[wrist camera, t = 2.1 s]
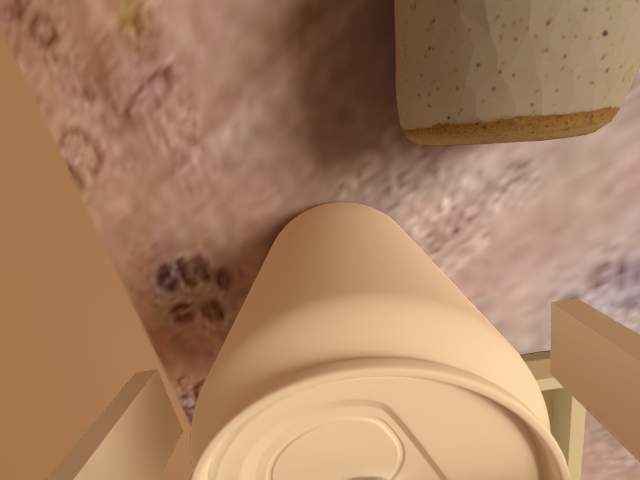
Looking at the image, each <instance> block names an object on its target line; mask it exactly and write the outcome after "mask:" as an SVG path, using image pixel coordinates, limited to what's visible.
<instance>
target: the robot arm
mask: <svg viewBox="0 0 640 480" xmlns="http://www.w3.org/2000/svg"><path fill="white" fill-rule="evenodd" d="M550 374H551V375H552V376H553V377H554V378H555V379H556V380H557V381H558V382H559V383H560V384H561V385H562V386H563V387H564V388H565V389H566V390H567V391H568V392H569V393H570V394H571V395H572V396H573V397H574V398H575V399H576V400H577V401H578V402H579V403H580V404H581V405H582V406H583V407H584V408H585V409H586V410H587V411H588V412H589V413H590V414H591V415H592V416H593V417H594V418H595V419H596V420H597V421H598V422H599V423H601V424H602V425H603V426H604V427H605V428H606V429H607V430H608V431H609V432H610V433H611V434H612V435H613V436H614V437H615V438H616V439H617V440H618V441H619V442H620V443H621V444H622V445H623V446H624V447H625V448H626V449H627V450H628V451H629V452H630V453H631V454H632V455H633V456H634V457H635V458H636V459H637V460H638V461H639V462H640V335H639V334H637V333H635V332H634V331H632V330H630V329H628V328H627V327H625V326H623V325H622V324H620V323H618V322H616V321H615V320H613V319H611V318H610V317H608V316H606V315H604V314H603V313H601V312H599V311H598V310H596V309H594V308H592V307H591V306H589V305H587V304H585V303H584V302H582V301H580V300H579V299H577V298H575V299H569V300H563V301H557V302H551V360H550ZM182 432H183V430H182V428H181V426H180V423H179V421H178V418H177V416H176V413H175V411H174V409H173V406H172V404H171V402H170V399H169V397H168V394H167V392H166V390H165V387H164V385H163V382H162V380H161V378H160V375H159V373H158V371H157V370H150V371H144V372H139V373H135V375H134V376H133V377H132V378H131V379H130V381H129V382H128V383H127V384H126V385H125V387H124V388H123V389H122V390H121V391H120V392H119V394H118V395H117V396H116V397H115V398H114V400H113V401H112V402H111V403H110V404H109V406H108V407H107V408H106V409H105V411H104V412H103V413H102V414H101V415H100V416H99V418H98V419H97V420H96V421H95V422H94V423H93V425H92V426H91V427H90V428H89V429H88V431H87V432H86V433H85V434H84V435H83V437H82V438H81V439H80V440H79V442H78V443H77V444H76V445H75V446H74V447H73V448H72V450H71V451H70V452H69V453H68V454H67V456H66V457H65V458H64V459H63V460H62V462H61V463H60V464H59V465H58V467H57V468H56V469H55V470H54V471H53V472H52V474H51V475H50V476H49V477H48V478H47V479H46V480H159V478H160V476H161V474H162V472H163V470H164V468H165V466H166V464H167V462H168V460H169V458H170V456H171V454H172V452H173V450H174V448H175V446H176V444H177V442H178V440H179V438H180V436H181V434H182Z"/></svg>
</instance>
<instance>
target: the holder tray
mask: <svg viewBox="0 0 640 480" xmlns="http://www.w3.org/2000/svg"><path fill="white" fill-rule="evenodd" d="M520 356H521V358H522V359H523V360H524V362H525V363H526V365H527V366H528V368H529V369H530V371H531V373H532V374H533V376H534V378H535V380H536V382H537V384H538V386H539V388H540V391H541V393H542V396H543V398H544V401H545V405H546V408H547V412H548V416H549V421H550V429H551V434H552V436H553V437H554V439H555V440H556V442H557V444H558V445H559V447H560V449H561V451H562V453H563V455H564V458H565V460H566V463H567V466H568V469H569V473H570V478H571V480H580V479H581V466H582V453H583V440H584V427H585V414H586V409H585V408H584V407H583V406H582V405H581V404H580V403H579V402H578V401H577V400H576V399H575V398H574V397H573V396H572V395H571V394H570V393H569V392H568V391H567V390H566V389H565V388H564V387H563V386H562V385H561V384H560V383H559V382H558V381H557V380H556V379H555V378H554V377H553V376H552V375H551V374H550V360H551V351H545V352H538V353H532V354H525V355H520Z"/></svg>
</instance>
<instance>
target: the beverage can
mask: <svg viewBox="0 0 640 480" xmlns="http://www.w3.org/2000/svg"><path fill="white" fill-rule="evenodd" d="M190 454H191V463H192V469H193V472H192V475H191V478H190V480H571V478H570V473H569V469H568V466H567V463H566V460H565V458H564V455H563V453H562V451H561V449H560V447H559V445H558V444H557V442H556V440H555V439H554V437H553V436H552V434H551V429H550V421H549V416H548V412H547V408H546V405H545V401H544V398H543V396H542V393H541V391H540V388H539V386H538V384H537V382H536V380H535V378H534V376H533V374H532V373H531V371H530V369H529V368H528V366H527V365H526V363H525V362H524V360H523V359H522V358H521V356H520V355H519V354H518V353H517V351H516V350H515V349H514V348H513V347H512V346H511V345H510V344H509V343H508V341H507V340H506V339H505V338H504V337H503V336H502V335H501V334H500V333H499V332H498V331H497V330H496V329H495V328H494V326H493V325H492V324H491V323H490V322H489V321H488V320H487V319H486V318H485V317H484V316H483V315H482V314H481V313H480V312H479V310H478V309H477V308H476V307H475V306H474V305H473V304H472V303H471V302H470V301H469V300H468V299H467V298H466V297H465V296H464V294H463V293H462V292H461V291H460V290H459V289H458V288H457V287H456V286H455V285H454V284H453V283H452V282H451V281H450V280H449V278H448V277H447V276H446V275H445V274H444V273H443V272H442V271H441V270H440V269H439V268H438V267H437V266H436V265H435V264H434V262H433V261H432V260H431V259H430V258H429V257H428V256H427V255H426V254H425V253H424V252H423V251H422V250H421V249H420V248H419V246H418V245H417V244H416V243H415V242H414V241H413V240H412V239H411V238H410V237H409V236H408V235H407V234H406V233H405V231H404V230H403V229H402V228H401V227H400V226H399V225H398V224H397V223H396V222H395V221H394V220H392V219H391V218H390V217H389V216H387V215H386V214H384V213H382V212H381V211H379V210H377V209H374V208H372V207H369V206H366V205H363V204H358V203H352V202H334V203H327V204H323V205H319V206H316V207H314V208H311V209H309V210H307V211H305V212H303V213H301V214H300V215H298V216H297V217H295V218H294V219H293V220H291V221H290V222H289V223H288V224H287V225H286V226H285V227H284V228H283V230H282V231H281V232H280V233H279V235H278V236H277V238H276V240H275V241H274V243H273V245H272V247H271V249H270V251H269V253H268V255H267V257H266V259H265V261H264V263H263V265H262V267H261V269H260V271H259V273H258V275H257V277H256V279H255V281H254V283H253V285H252V287H251V289H250V291H249V293H248V295H247V297H246V299H245V301H244V303H243V305H242V307H241V309H240V311H239V313H238V315H237V317H236V319H235V321H234V323H233V326H232V328H231V330H230V332H229V334H228V336H227V338H226V340H225V342H224V344H223V346H222V348H221V350H220V352H219V354H218V356H217V358H216V360H215V362H214V364H213V366H212V368H211V370H210V372H209V374H208V376H207V378H206V380H205V382H204V384H203V386H202V389H201V391H200V393H199V396H198V399H197V402H196V405H195V409H194V413H193V418H192V424H191V434H190Z"/></svg>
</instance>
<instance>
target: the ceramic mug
mask: <svg viewBox="0 0 640 480" xmlns="http://www.w3.org/2000/svg"><path fill="white" fill-rule="evenodd" d="M394 17H395V42H396V83H395V88H396V102H397V108H398V114H399V120H400V125H401V128H402V131H403V134H404V135H405V136H406V137H407V138H408V139H409V140H410V141H412V142H413V143H416V144H421V145H462V144H493V143H510V142H524V141H543V140H551V139H560V138H568V137H574V136H581V135H587V134H589V133H592V132H595V131H597V130H598V129H600V128H601V127H603V126H605V125H606V124H608V123H609V122H611V120H612V119H613V118H614V117H615V115H616V114H617V112H618V111H619V109H620V107H621V106H622V104H623V102H624V100H625V98H626V96H627V94H628V91H629V89H630V87H631V85H632V83H633V80H634V78H635V76H636V74H637V72H638V69H639V66H640V0H394Z"/></svg>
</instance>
